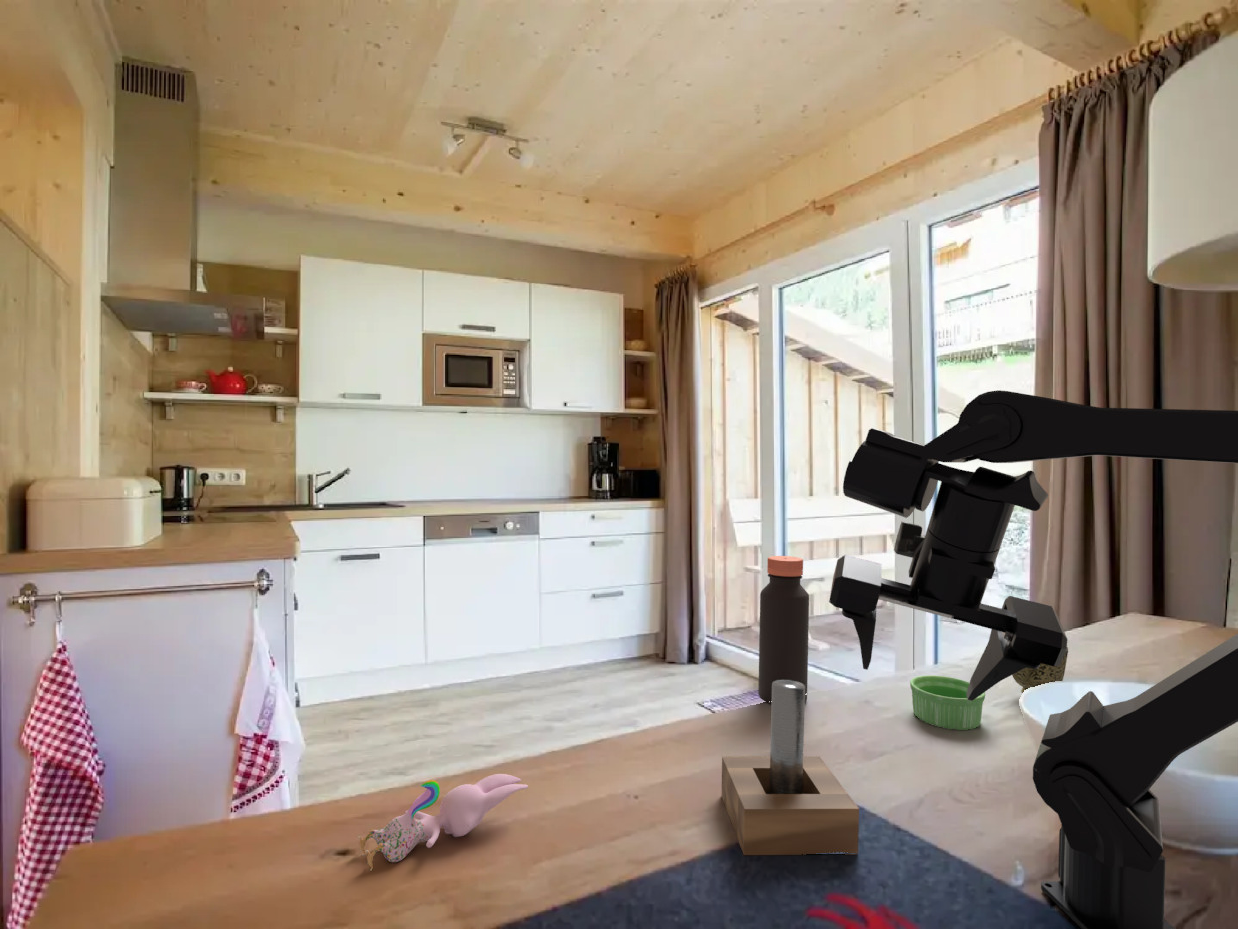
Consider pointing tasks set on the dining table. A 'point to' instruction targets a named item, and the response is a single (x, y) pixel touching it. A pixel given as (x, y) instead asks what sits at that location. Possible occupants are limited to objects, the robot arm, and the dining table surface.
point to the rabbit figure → (440, 815)
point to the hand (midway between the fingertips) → (916, 681)
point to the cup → (1041, 674)
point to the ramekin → (945, 702)
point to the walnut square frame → (788, 809)
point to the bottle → (783, 626)
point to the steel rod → (787, 737)
